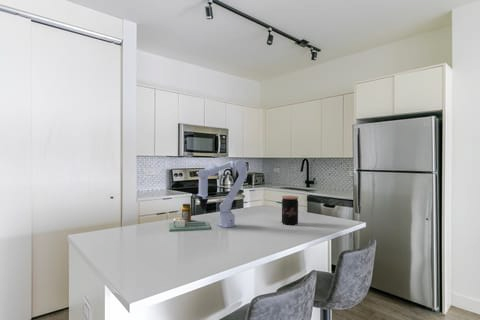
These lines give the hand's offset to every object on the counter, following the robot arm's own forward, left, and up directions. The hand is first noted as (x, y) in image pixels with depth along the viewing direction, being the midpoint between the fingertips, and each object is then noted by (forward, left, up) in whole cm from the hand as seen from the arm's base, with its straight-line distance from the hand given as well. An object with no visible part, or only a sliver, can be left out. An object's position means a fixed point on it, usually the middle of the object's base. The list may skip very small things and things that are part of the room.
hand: (202, 208), depth 182 cm
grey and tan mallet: (+1, +13, -9) cm, 16 cm away
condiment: (+14, +3, -11) cm, 18 cm away
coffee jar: (-37, -44, -11) cm, 59 cm away
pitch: (-1, +11, -10) cm, 15 cm away
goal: (+2, +16, -9) cm, 19 cm away
